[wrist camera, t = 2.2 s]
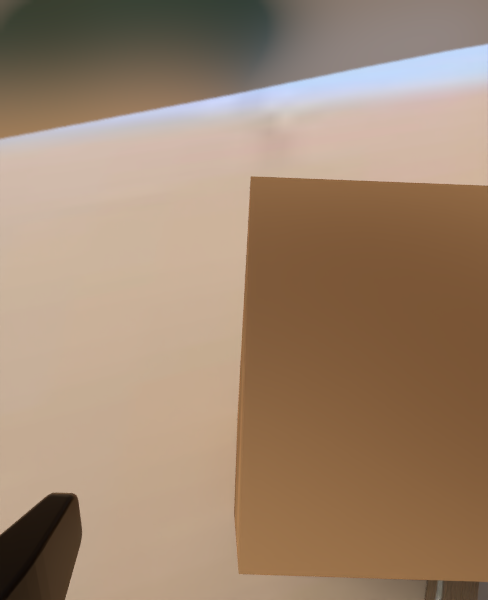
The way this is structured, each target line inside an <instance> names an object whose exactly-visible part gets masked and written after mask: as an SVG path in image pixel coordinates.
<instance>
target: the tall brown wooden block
mask: <svg viewBox="0 0 488 600" xmlns="http://www.w3.org/2000/svg"><path fill="white" fill-rule="evenodd" d="M234 516H235V529H236V543H237V556H238V570H239V574H257V575H288V576H319V577H350V578H381V579H413V580H444V581H475V582H488V186H479V185H454V184H429V183H403V182H378V181H352V180H327V179H301V178H276V177H251V182H250V201H249V219H248V237H247V255H246V274H245V292H244V310H243V328H242V346H241V365H240V383H239V401H238V423H237V451H236V479H235V507H234Z"/></svg>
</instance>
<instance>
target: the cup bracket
mask: <svg viewBox="0 0 488 600" xmlns="http://www.w3.org/2000/svg"><path fill="white" fill-rule="evenodd" d="M425 600H488V582H475V581H444V580H427V588H426V595H425Z"/></svg>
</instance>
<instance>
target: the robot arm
mask: <svg viewBox="0 0 488 600" xmlns="http://www.w3.org/2000/svg"><path fill="white" fill-rule="evenodd" d="M81 538H82V526H81V518H80V510H79V502H78V498H77V496H76V495H75V494H73V493H51V494H49V495H48V496H46V497H45V498H44V499H43V500H41V501H40V502H39V503H38V504H37V505H35V506H34V507H33V508H32V509H31V510H29V511H28V512H27V513H26V514H25V515H24V516H22V517H21V518H20V519H19V520H18V521H16V522H15V523H14V524H13V525H12V526H10V527H9V528H8V529H7V530H6V531H4V532H3V533H2V534H1V535H0V600H65V597H66V594H67V590H68V587H69V583H70V579H71V576H72V572H73V569H74V565H75V562H76V558H77V555H78V551H79V547H80V544H81Z"/></svg>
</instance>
